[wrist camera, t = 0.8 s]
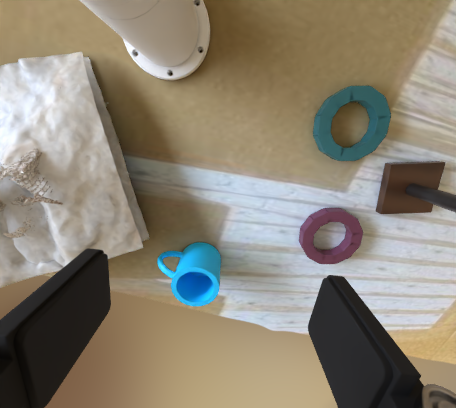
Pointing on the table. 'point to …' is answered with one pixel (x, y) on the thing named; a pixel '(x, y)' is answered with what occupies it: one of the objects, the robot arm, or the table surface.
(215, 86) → the table surface
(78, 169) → the plastic wrap
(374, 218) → the table surface
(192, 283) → the mug
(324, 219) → the plum ring
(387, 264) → the table surface
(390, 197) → the peg stand
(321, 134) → the teal ring
